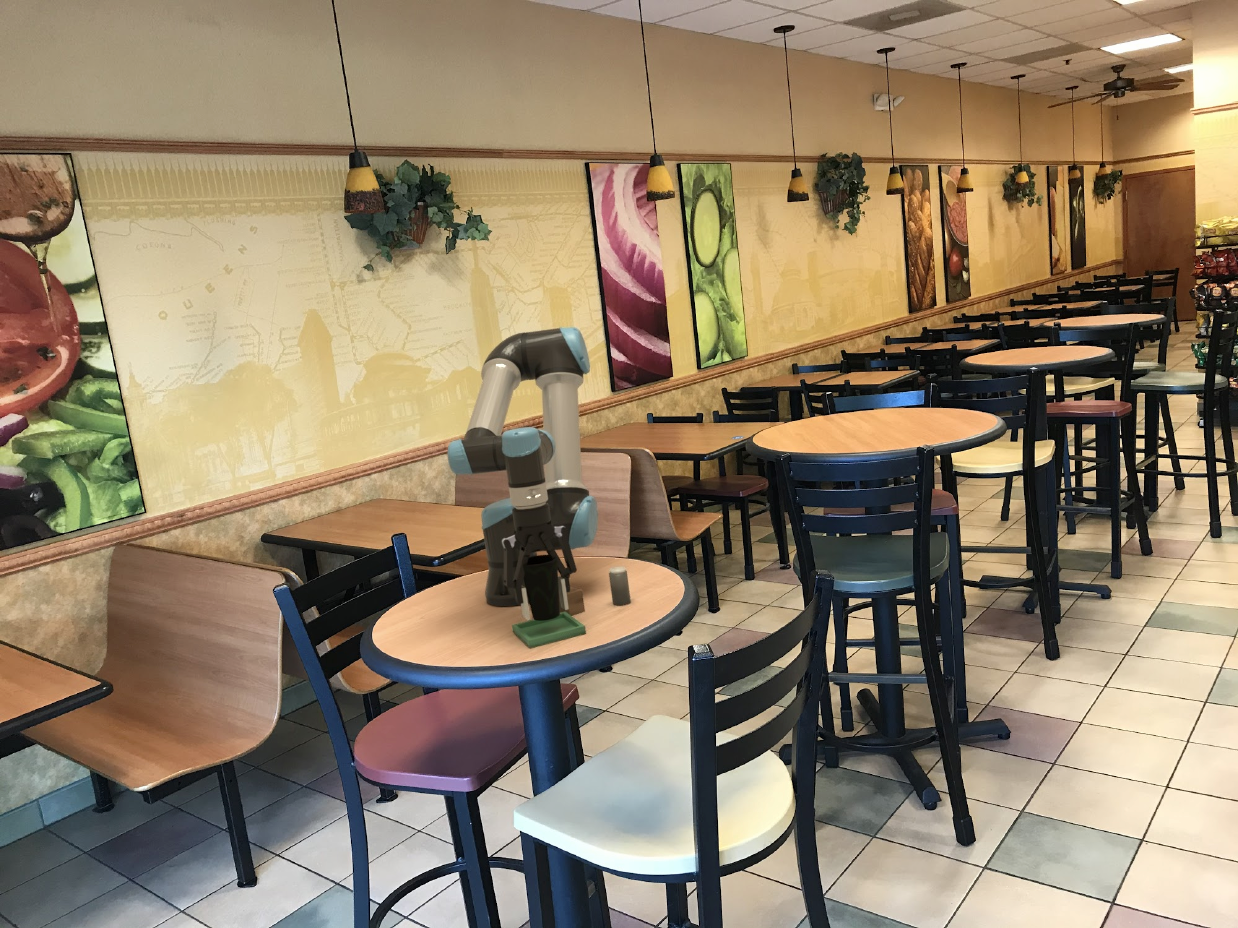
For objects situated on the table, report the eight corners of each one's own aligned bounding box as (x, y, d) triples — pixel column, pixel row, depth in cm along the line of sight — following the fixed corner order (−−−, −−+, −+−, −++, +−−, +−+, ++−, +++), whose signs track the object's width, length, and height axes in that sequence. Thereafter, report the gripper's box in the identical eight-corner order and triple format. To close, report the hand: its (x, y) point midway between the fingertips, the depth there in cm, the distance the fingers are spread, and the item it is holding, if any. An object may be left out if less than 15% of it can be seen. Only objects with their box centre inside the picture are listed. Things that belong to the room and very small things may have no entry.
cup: (559, 621, 188) (551, 563, 186) (523, 623, 189) (514, 566, 187) (569, 608, 195) (561, 553, 193) (534, 610, 197) (526, 555, 195)
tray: (512, 632, 196) (511, 624, 196) (566, 618, 201) (565, 611, 200) (529, 648, 185) (528, 640, 185) (586, 633, 190) (585, 625, 189)
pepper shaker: (610, 602, 208) (605, 569, 206) (626, 598, 209) (622, 565, 208) (617, 607, 204) (612, 572, 203) (633, 602, 205) (629, 568, 204)
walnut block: (559, 613, 205) (556, 591, 204) (574, 608, 207) (571, 586, 206) (570, 617, 201) (567, 594, 201) (585, 611, 204) (582, 589, 203)
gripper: (485, 517, 181) (502, 629, 185) (584, 497, 189) (598, 605, 192) (476, 511, 188) (492, 620, 192) (571, 492, 196) (585, 597, 199)
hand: (545, 612), depth 192 cm, fingers closed on cup, 8 cm apart
